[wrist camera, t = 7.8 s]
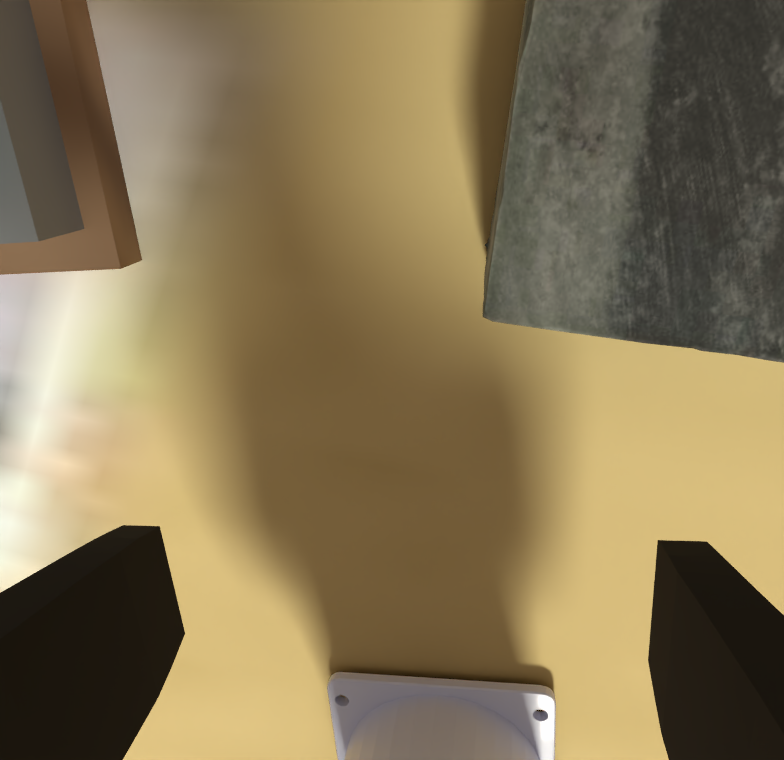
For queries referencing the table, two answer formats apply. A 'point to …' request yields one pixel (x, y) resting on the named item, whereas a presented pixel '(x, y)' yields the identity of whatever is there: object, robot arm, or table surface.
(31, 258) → the tower base
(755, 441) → the table surface
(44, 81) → the tower mid
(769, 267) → the stone block
